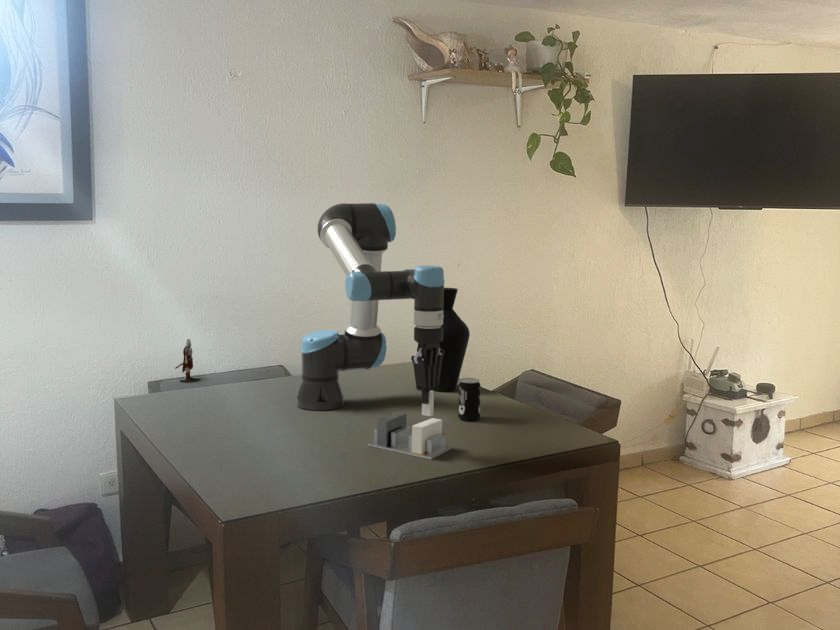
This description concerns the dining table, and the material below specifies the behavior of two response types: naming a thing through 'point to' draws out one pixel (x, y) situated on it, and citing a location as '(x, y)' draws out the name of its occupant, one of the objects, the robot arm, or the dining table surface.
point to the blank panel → (424, 434)
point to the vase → (452, 343)
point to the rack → (404, 437)
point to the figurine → (187, 363)
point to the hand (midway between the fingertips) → (427, 414)
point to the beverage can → (469, 399)
